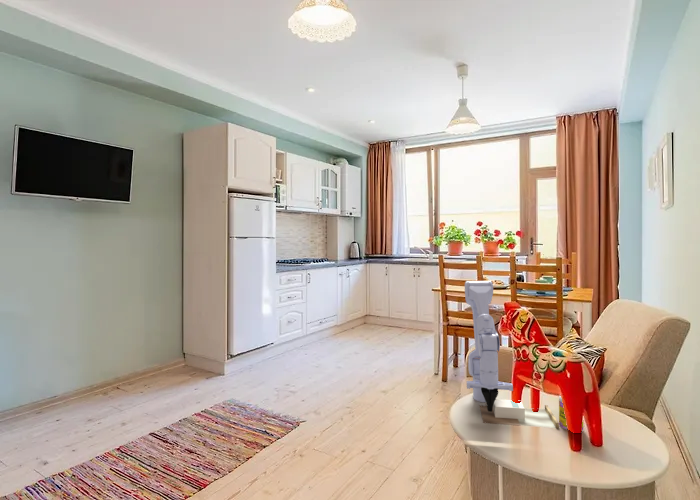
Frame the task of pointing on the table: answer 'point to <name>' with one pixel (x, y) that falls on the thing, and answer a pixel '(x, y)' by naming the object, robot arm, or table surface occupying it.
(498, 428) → the table surface
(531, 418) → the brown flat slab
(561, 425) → the supplement bottle
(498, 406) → the carton
